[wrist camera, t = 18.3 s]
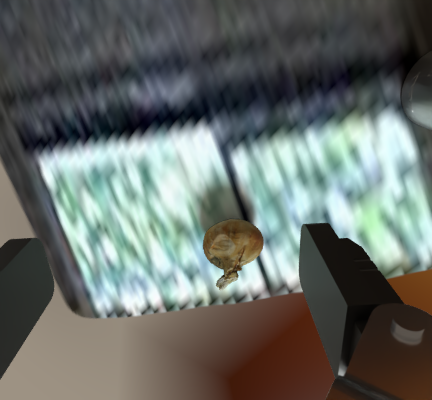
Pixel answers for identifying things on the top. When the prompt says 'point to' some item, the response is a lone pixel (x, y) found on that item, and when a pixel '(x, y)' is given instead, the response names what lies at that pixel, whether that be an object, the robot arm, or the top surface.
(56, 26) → the top surface
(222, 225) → the onion
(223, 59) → the top surface
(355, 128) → the top surface
